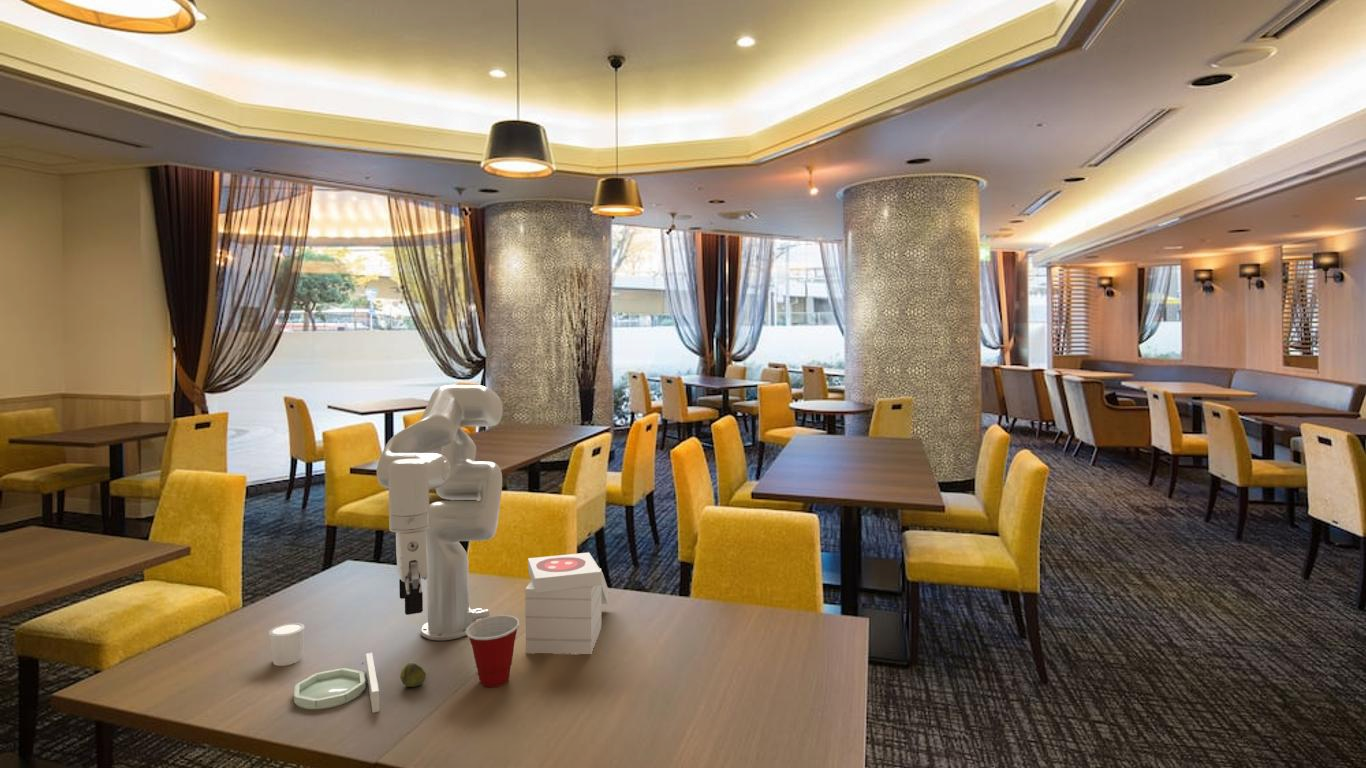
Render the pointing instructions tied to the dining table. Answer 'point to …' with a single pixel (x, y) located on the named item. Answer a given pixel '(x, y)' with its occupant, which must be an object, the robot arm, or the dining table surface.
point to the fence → (372, 682)
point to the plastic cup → (493, 647)
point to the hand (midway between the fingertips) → (410, 605)
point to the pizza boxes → (564, 604)
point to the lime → (412, 675)
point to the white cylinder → (287, 643)
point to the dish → (329, 688)
